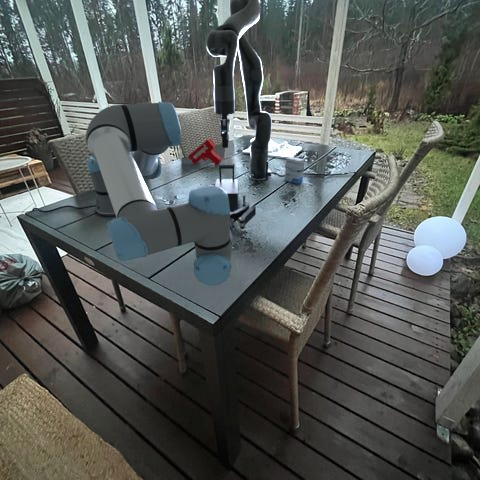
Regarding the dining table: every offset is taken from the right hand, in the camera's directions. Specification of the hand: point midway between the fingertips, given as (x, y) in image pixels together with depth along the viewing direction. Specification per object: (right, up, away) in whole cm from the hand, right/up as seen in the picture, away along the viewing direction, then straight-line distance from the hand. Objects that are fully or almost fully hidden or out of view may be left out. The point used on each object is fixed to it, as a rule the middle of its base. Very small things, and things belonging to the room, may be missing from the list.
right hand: (225, 144), depth 108 cm
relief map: (+30, +26, +86) cm, 94 cm away
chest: (0, -24, +9) cm, 26 cm away
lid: (0, -16, +5) cm, 17 cm away
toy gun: (-16, +10, +62) cm, 65 cm away
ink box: (+34, -7, +36) cm, 50 cm away
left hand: (0, -25, -23) cm, 34 cm away
